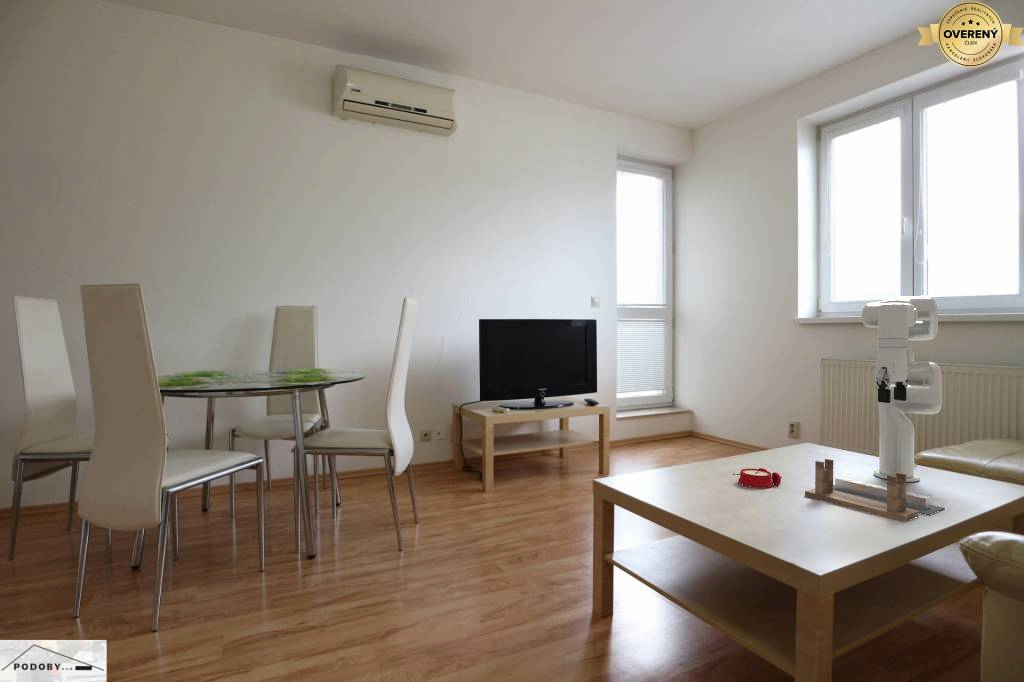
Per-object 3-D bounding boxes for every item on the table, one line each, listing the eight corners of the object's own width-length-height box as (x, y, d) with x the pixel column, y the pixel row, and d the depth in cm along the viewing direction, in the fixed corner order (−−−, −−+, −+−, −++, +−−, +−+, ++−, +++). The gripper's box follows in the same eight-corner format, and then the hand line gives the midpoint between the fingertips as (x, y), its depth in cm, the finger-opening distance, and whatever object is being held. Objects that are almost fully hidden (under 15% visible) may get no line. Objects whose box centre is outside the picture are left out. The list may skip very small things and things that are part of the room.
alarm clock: (728, 471, 176) (763, 457, 181) (731, 489, 177) (766, 475, 181) (752, 479, 166) (788, 464, 171) (755, 498, 167) (791, 483, 172)
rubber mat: (839, 485, 172) (839, 483, 172) (944, 509, 148) (944, 507, 148) (822, 489, 167) (822, 488, 167) (928, 515, 143) (928, 514, 143)
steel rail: (840, 486, 168) (840, 477, 168) (930, 507, 148) (930, 496, 148) (835, 487, 167) (835, 478, 167) (925, 509, 146) (925, 498, 146)
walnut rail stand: (819, 492, 164) (820, 456, 164) (918, 516, 142) (919, 475, 142) (804, 496, 160) (805, 459, 160) (904, 522, 138) (904, 480, 138)
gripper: (892, 343, 168) (892, 398, 168) (864, 344, 159) (863, 402, 159) (920, 344, 161) (920, 400, 162) (892, 345, 153) (892, 404, 153)
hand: (892, 401), depth 160 cm, fingers open, 9 cm apart
